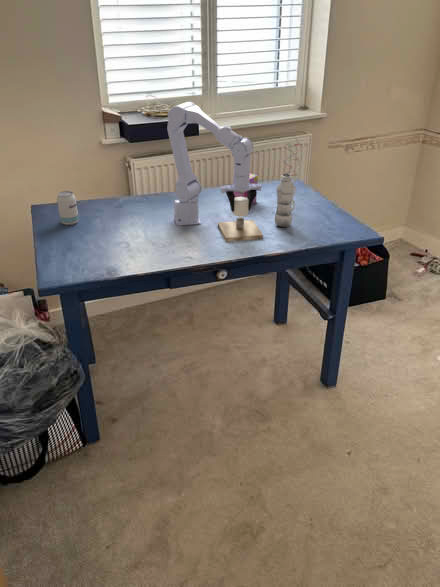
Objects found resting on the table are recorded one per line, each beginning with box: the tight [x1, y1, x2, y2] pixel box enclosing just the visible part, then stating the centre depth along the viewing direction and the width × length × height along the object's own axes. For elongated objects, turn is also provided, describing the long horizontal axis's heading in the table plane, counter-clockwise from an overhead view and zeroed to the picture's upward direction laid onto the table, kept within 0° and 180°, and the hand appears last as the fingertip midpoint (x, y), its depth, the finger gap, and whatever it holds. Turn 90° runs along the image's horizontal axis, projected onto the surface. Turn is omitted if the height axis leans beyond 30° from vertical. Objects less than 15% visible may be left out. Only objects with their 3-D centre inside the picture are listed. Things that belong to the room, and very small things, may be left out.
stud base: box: [217, 216, 264, 242], centre depth 190 cm, size 14×14×6 cm
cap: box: [232, 197, 249, 217], centre depth 186 cm, size 6×5×6 cm
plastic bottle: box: [274, 173, 295, 228], centre depth 192 cm, size 6×7×20 cm
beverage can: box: [56, 190, 80, 226], centre depth 194 cm, size 7×7×12 cm
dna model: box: [282, 136, 301, 212], centre depth 201 cm, size 7×6×30 cm
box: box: [233, 173, 259, 204], centre depth 213 cm, size 10×6×12 cm, turn 143°
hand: (240, 210), depth 186 cm, fingers closed on cap, 5 cm apart
